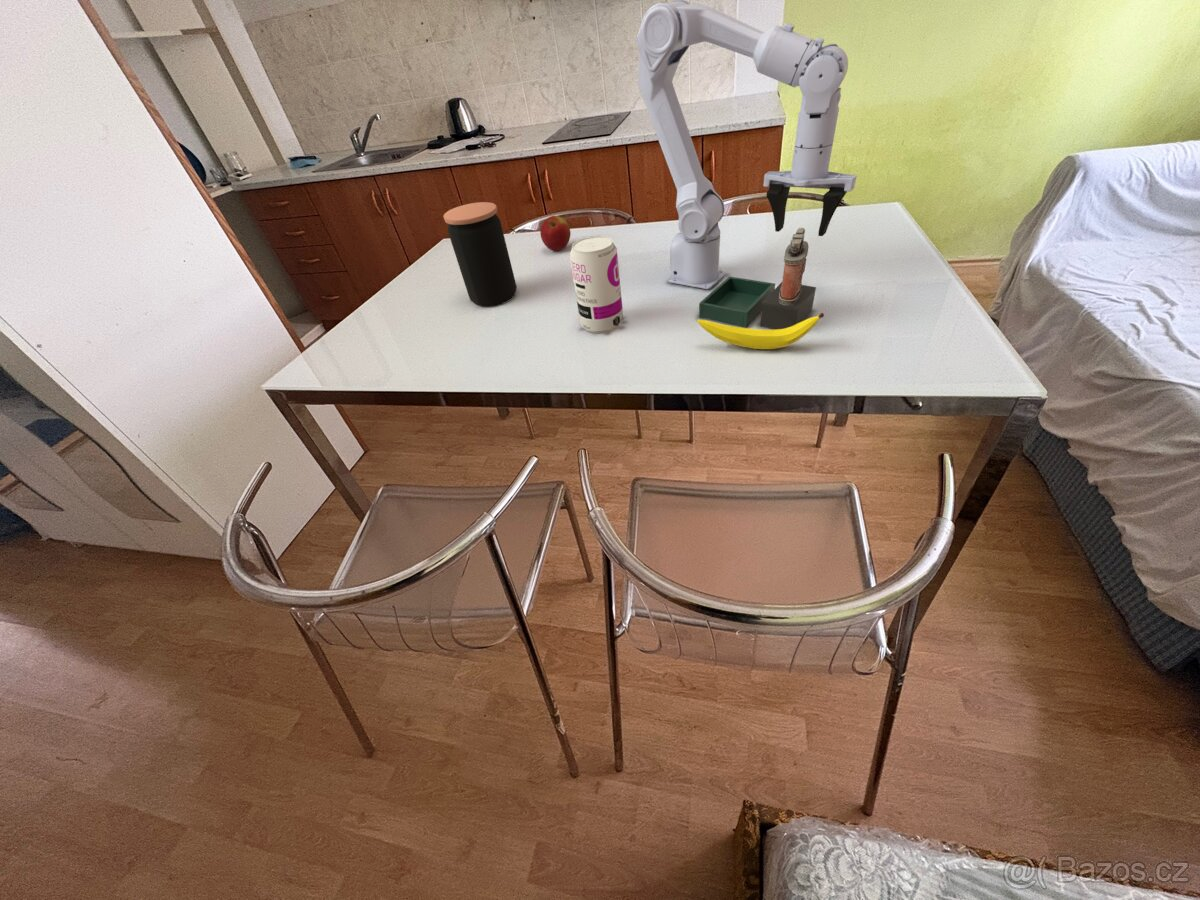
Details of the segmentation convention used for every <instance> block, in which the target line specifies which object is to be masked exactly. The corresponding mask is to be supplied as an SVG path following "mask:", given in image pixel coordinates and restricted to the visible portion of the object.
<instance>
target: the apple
mask: <svg viewBox="0 0 1200 900" xmlns="http://www.w3.org/2000/svg"><path fill="white" fill-rule="evenodd" d="M539 232H540V239H541V241H542V243H543V244H544V246H545V247H546V248H547V249H548V250H550V251H552V252H553V251H554V252H558V251H562V250H564V249H565V248H566V247H567V246H568V245H569V242H570V239H571V228H570V226H569V223H568V222H567V221H566V220H565V219H564V218H562V217H561V216H556V215H551V216H549V217H546V219H545V220H544V221H543V222H542V224H541V226H540V231H539Z"/></svg>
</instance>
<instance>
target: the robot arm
mask: <svg viewBox="0 0 1200 900" xmlns="http://www.w3.org/2000/svg"><path fill="white" fill-rule="evenodd" d="M794 28H795V25H794V24H792V23H789V22H786V23H784V24H783V26H781V25H778V24H776V25H774V26H773V27H771V28H769V29H768V30H766V31H765V32H764V31H763V30H760V29H758V28H756V27H754V26H752V25H749V24H748V23H746V22H743V21H741V20H739V19H738V18H737V19H736V18H735V17H733V16H731V15H728V14H726V13H724V12H723V11H720V10H718V9H717V8H714V7H711V6H708V5H705V4H702V3H696V2H692V3H691V2H689V1H688V0H674V1H672V2H667V3H665V2H659V3H656V4H654V5H652V6H650V7H649V8H648V10H646V12H645V14H644V15H643V17H642V20H641V22H640V26H639V29H638V32H637V36H636V38H635V41H636V44H637V48H638V77H637V78H638V80H637V83H638V88H639V92H640V95H641V97H642V100H643V102H644V105H645V108H646V110H647V114H648V116H649V119H650V121H651V124H652V127H653V130H654V132H655V134H656V138H657V140H658V143H659V145H660V149H661V151H662V154H663V156H664V159H665V162H666V164H667V167H668V169H669V172H670V175H671V178H672V180H673V183H674V186H675V189H676V199H675V208H676V211H677V214H678V224H677V226H678V230H679V232H677V233H676V234H675V235H674V236H673V238H672V240H671V242H670V247H669V273H670V274H669V276H670V278H669V279H668V283H670V284H676V285H681V286H687V287H693V288H698V289H703V290H710V289H712V287H713V286H715V285H716V284H717V283H718V282H719V281H720V280H721V279H723V278H724V277H725V276H726V275H727V272H726V271H724V270H720V269H719V268H720V246H721V229H720V227H719V222H720V221H721V220H722V219H723V217H724V214H725V202H724V200H723V198H722V197H721V195H719V194H718V193H717V191H716V190H715V188H714V186H713V183H712V181H710V180H709V179H708V178H707V177H706V176H705V175H704V172H703V168H702V165H701V163H700V159H699V157H698V155H697V154H698V153H697V151H696V148H695V145H694V142H693V139H692V136H691V134H690V131H689V127H688V125H687V122H686V119H685V116H684V113H683V110H682V107H681V104H680V101H679V98H678V96H677V92H676V90H675V86H674V84H673V80H674V77H675V75H676V72H677V70H678V66H679V64H680V61H681V59H682V58H683V56H684V55H685V54H686V52H687V51H688V49H689V47H690V46H693V45H696V44H701V43H704V42H705V43H706V42H707V43H709V44H712V45H715V46H717V47H721V48H722V49H725V50H729V51H732V52H734V53H737V54H740V55H743V56H745V57H747V58H750V59H752V60H753V63H754V65H755V68H756V72H757V73H759V74H761V75H764V76H765V77H768V78H771V79H773V80H776V81H778V82H780V83H782V84H784V85H787V86H790V87H792V88H796V87H799V90H800V93H801V94H802V96H801V103H800V109H799V112H798V117H797V123H796V133H795V140H794V147H793V153H792V163H791V168H790V169H791V170H781V171H780V170H777V171H770V170H769V171H767V172H766V173H765V174H764V176H763V187H764V188H768V189H767V191H766V198H767V200H768V202H769V205H770V207H771V211H772V215H773V220H774V231H775V232H780V231H781V230H783V229H784V226H785V219H786V209H787V204H788V203H787V202H788V199H789V193H790V190H791V188H803V189H804V188H805V189H819V190H820V189H824V190H828V191H826V192H825V193H824V194H823V196H822V199H823V200H822V211H821V219H820V224H819V228H818V237H823V236H824V235H826V234H827V231H828V228H829V225H830V223H831V221H832V218H833V217H834V215H835V212H836V210H837V208H838V207H839V205H840V203H841V202H842V201H843V199H844V197H845V196H846V194H847V193H848V192H852V191H853V190H854V189H855V186H856V181H857V177H858V175H857V174H850V173H849V174H848V173H841V172H836V171H835V172H834V171H829V169H830V163H831V156H832V151H833V145H834V141H835V134H836V128H837V123H838V117H839V112H840V107H839V105H840V104H839V103H840V102H841V96H842V93H841V91H842V87H841V84H842V83H843V81H844V80H845V79H846V76H847V73H848V69H849V59H848V55H847V53H846V51H845V50H844V49H843V48H841V47H839V45H838V44H837V43H828V44H825V45H824V43H825V38H822V37H820V36H818V37H816V39H813V38H811V37H809V36H806V35H803V34H801V33H798V32H796V31H794ZM823 45H824V46H823Z"/></svg>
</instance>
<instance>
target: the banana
mask: <svg viewBox="0 0 1200 900" xmlns="http://www.w3.org/2000/svg"><path fill="white" fill-rule="evenodd" d="M824 316H825V313H823V312H821V313H820V314H818V315H816V316H812V317H809V318H806V319H805V320H804V321H802V322H800V323H798V324H796V325H793V326H791V327H788V328H784V329H762V328H760V329H759V328H748V327H741V326H736V325H730V324H724V323H723V324H722V323H720V322H716V321H712V320H708V319H696V323H698V324H699V326H700V327H701V328H702V329H703V330H704V331H706V332H707V333H709V334H710V335H711V336H713V337H714V338H715V339H718V340H720V341H722V342H724V343H727V344H732V345H735V346H739V347H743V348H748V349H758V350H774V349H780V348H784V347H787V346H790V345H792V344H794V343H796V342H798V341H799V340H801V339H802V338H803V337H804V336H806V335H807V334H808V333H810V331H811V330H812V329H813V328H814V327H815V326H816V324H817V323H818V322H819V320H820V319H821V318H824Z"/></svg>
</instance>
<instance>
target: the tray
mask: <svg viewBox="0 0 1200 900" xmlns="http://www.w3.org/2000/svg"><path fill="white" fill-rule="evenodd" d="M775 289H776V283H774V282H767V281H761V280H755V279H750V278H749V279H748V278H742V277H736V276H731V275H730V276H728V277H727V278H725V279H724V280H723V281H722V282H721V283H720V284H719V285H718V286H717V287H715V289H713V290H712V291H711V292H710V293H709V294H708V295H706V296H705V298H703V299H702V300H701V301H700V302H699V303H698V305H699V306H698V318H699V319H703V320H708V321H712V322H717V323H723V324H726V325H731V326H736V327H742V328H748V326H749V325H750V324H751V323H752V322H754V320H755V319H756V317H757V316H758V315H760V314H761V312H762V302H763V301H764V300H765V299H766V298H767V297H768V296H769V295H770V294H771V293H772V292H773V291H774V290H775Z"/></svg>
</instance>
